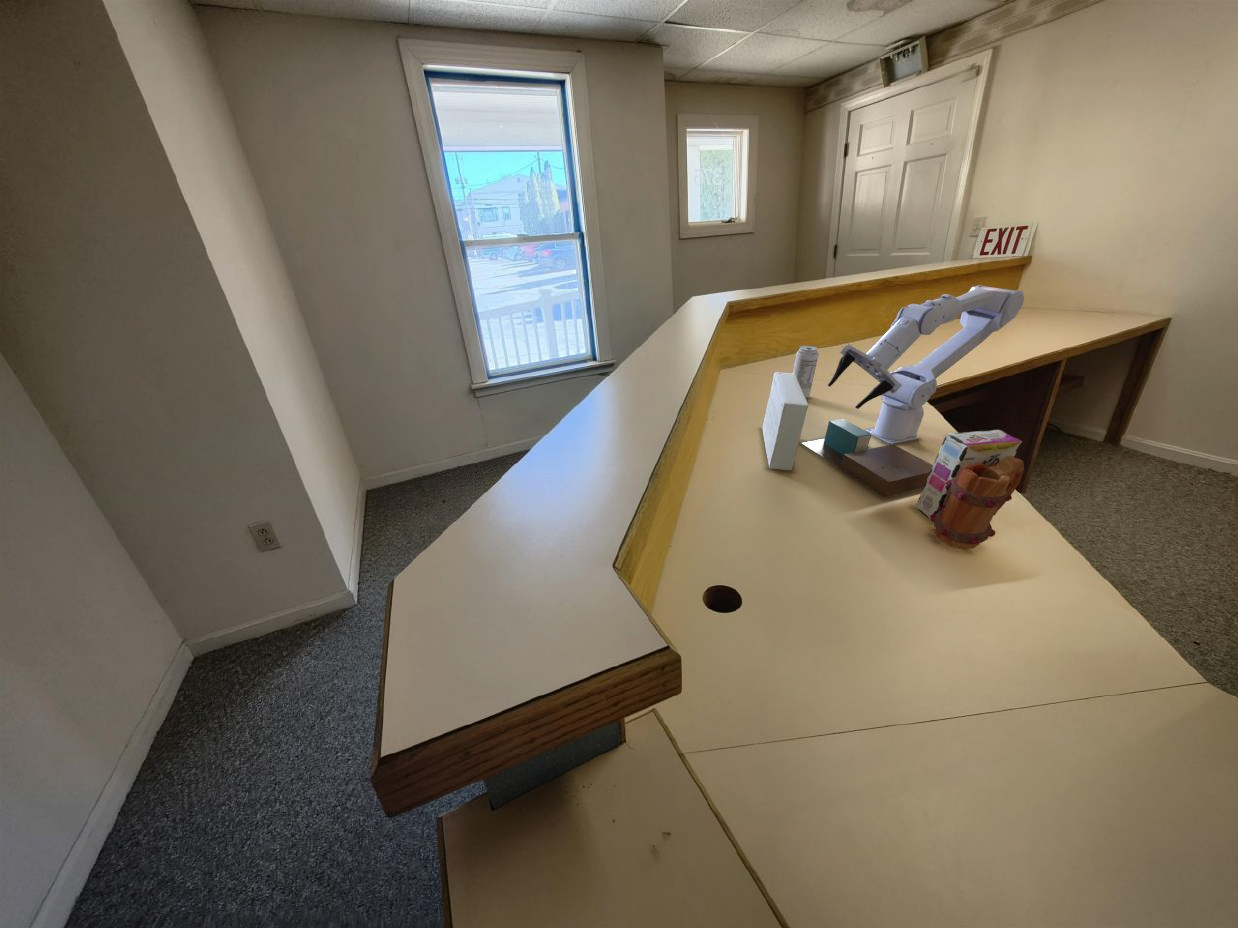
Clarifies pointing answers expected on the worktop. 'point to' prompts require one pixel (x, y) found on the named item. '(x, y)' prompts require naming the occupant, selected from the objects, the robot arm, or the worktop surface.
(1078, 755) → the worktop surface
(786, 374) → the skincare box
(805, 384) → the energy drink can
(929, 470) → the step shelf
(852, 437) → the teal box
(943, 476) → the candy bar box
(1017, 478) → the mug
